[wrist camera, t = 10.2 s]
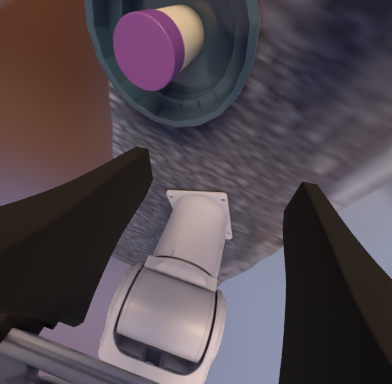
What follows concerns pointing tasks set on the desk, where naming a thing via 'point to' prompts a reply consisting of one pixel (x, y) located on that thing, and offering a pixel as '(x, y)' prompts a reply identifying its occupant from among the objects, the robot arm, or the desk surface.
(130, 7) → the dish
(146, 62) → the glue stick
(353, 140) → the desk surface
